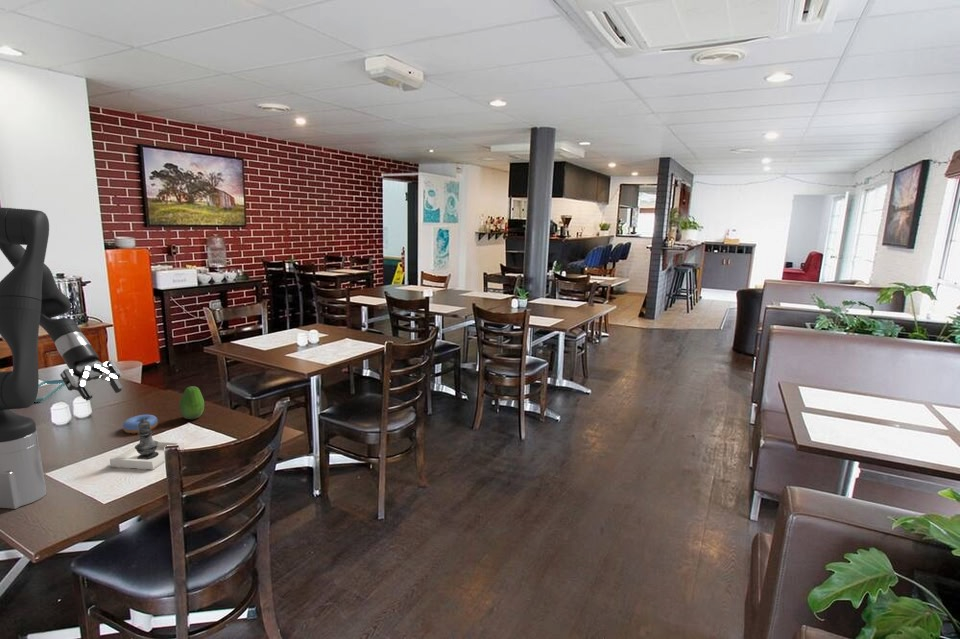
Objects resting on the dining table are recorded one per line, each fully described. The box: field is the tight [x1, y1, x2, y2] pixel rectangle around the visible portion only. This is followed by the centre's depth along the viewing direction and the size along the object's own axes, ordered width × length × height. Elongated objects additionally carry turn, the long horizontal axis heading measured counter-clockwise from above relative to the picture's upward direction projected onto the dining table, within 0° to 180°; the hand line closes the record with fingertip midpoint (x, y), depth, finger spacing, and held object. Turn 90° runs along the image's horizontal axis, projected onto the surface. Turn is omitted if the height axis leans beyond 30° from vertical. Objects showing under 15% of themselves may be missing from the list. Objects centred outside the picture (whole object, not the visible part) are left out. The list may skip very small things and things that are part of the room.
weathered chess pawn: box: [135, 418, 159, 460], centre depth 147 cm, size 6×6×12 cm
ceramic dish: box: [109, 439, 185, 471], centre depth 148 cm, size 13×13×2 cm
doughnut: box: [122, 414, 159, 435], centre depth 168 cm, size 10×10×5 cm
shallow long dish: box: [35, 379, 66, 403], centre depth 201 cm, size 26×9×2 cm, turn 22°
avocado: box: [178, 385, 205, 420], centre depth 177 cm, size 8×8×12 cm
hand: (104, 395), depth 147 cm, fingers open, 8 cm apart
